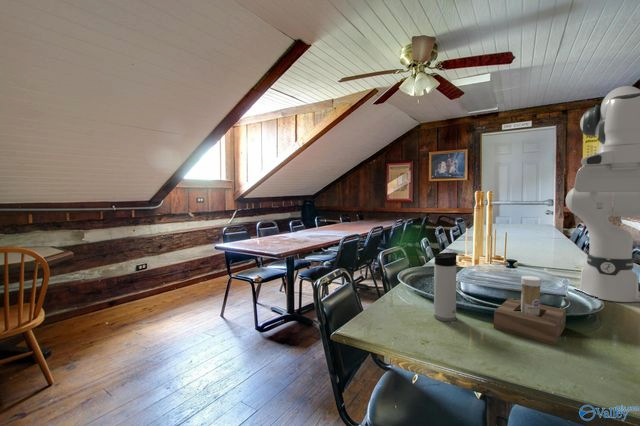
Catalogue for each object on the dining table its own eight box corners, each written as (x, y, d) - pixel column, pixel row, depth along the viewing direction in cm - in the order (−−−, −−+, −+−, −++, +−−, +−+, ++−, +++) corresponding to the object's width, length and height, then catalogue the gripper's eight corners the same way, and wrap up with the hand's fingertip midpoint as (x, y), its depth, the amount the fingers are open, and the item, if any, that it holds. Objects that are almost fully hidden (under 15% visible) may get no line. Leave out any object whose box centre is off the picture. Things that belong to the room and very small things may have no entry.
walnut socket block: (509, 313, 99) (509, 297, 99) (565, 327, 89) (565, 309, 89) (493, 328, 90) (494, 311, 89) (554, 345, 80) (555, 326, 79)
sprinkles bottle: (532, 329, 86) (533, 280, 85) (516, 322, 90) (517, 276, 89) (543, 326, 88) (545, 278, 87) (527, 319, 92) (528, 274, 91)
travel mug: (460, 321, 94) (461, 255, 93) (438, 321, 95) (438, 255, 93) (452, 313, 101) (452, 250, 99) (431, 313, 101) (431, 251, 99)
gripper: (684, 154, 78) (680, 210, 79) (578, 160, 93) (575, 207, 94) (686, 152, 74) (681, 212, 75) (574, 159, 89) (572, 209, 90)
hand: (621, 209), depth 85 cm, fingers open, 8 cm apart
